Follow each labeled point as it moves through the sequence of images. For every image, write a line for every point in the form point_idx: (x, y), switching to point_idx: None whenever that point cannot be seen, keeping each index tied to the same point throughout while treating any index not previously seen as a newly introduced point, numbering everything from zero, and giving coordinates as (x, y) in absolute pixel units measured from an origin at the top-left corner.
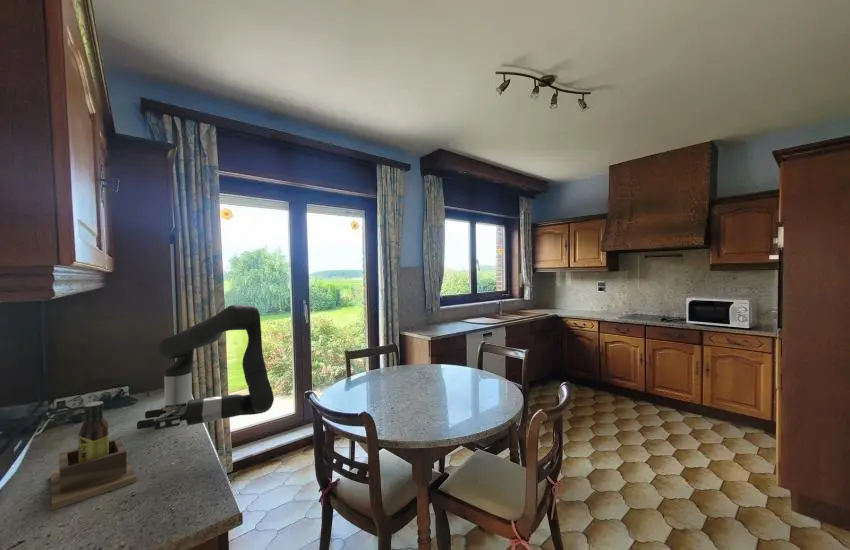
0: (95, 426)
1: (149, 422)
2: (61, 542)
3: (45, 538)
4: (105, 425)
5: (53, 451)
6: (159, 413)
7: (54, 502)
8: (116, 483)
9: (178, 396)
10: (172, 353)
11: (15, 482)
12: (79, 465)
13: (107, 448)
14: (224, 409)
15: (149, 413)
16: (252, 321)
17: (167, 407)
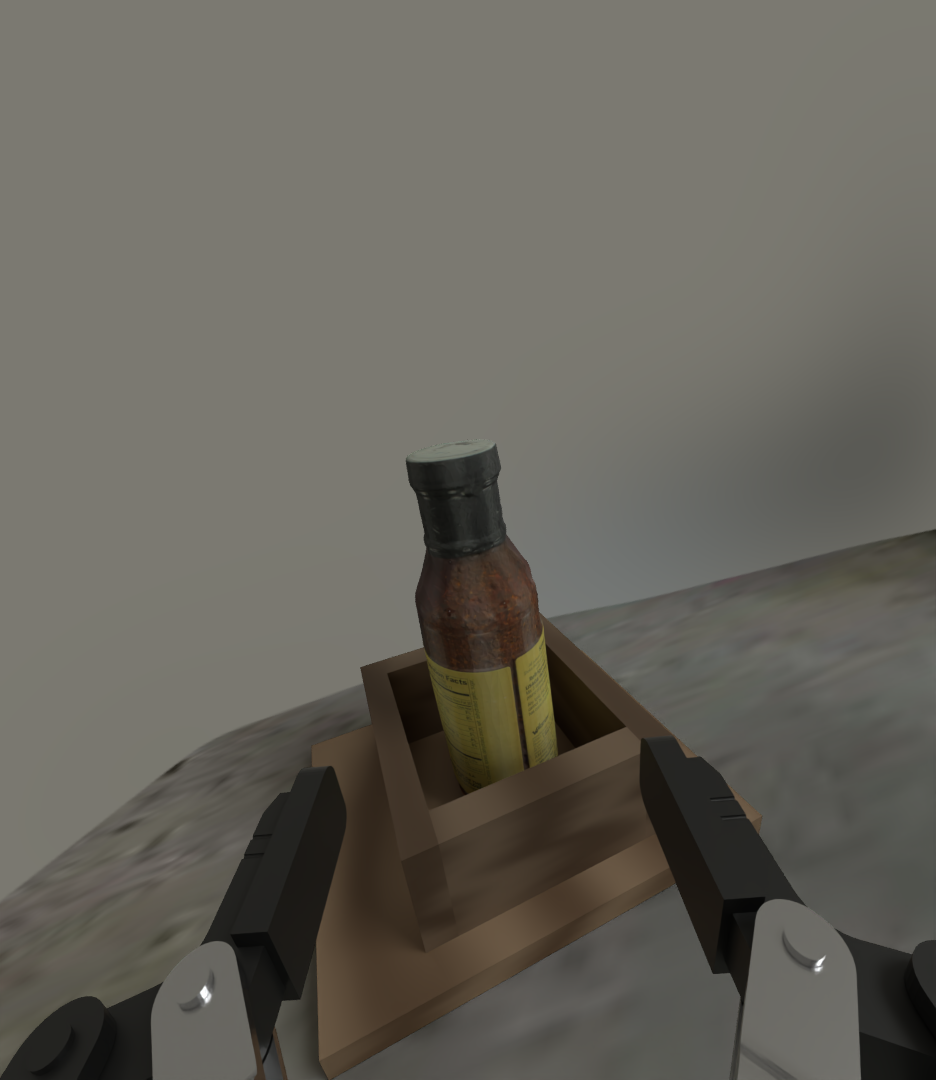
0: (422, 583)
1: (226, 910)
2: (10, 893)
3: (115, 824)
4: (455, 611)
5: (772, 599)
6: (711, 935)
7: (317, 748)
8: (316, 939)
9: None
10: None
11: (571, 617)
12: (368, 704)
13: (487, 735)
14: None
15: (657, 789)
16: None
17: (752, 1077)
